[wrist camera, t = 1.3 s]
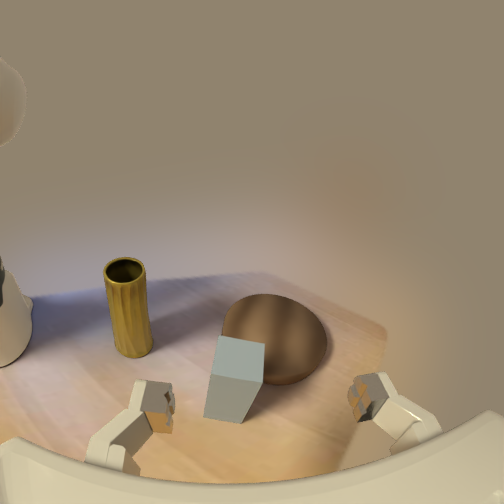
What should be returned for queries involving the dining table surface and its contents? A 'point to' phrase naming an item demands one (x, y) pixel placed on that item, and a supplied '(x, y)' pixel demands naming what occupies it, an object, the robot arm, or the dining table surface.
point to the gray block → (234, 379)
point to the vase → (128, 306)
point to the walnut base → (279, 335)
